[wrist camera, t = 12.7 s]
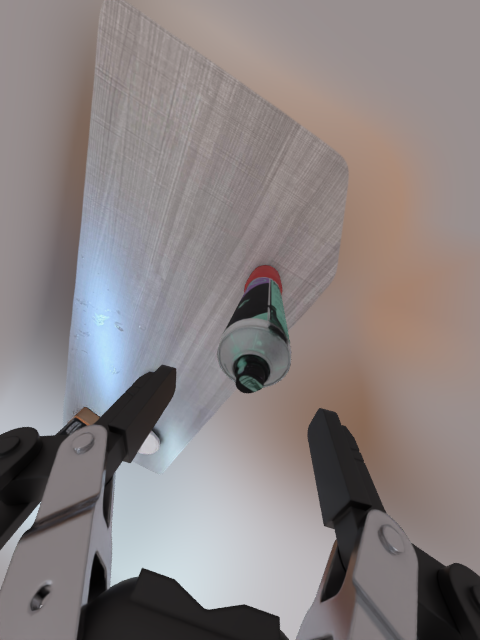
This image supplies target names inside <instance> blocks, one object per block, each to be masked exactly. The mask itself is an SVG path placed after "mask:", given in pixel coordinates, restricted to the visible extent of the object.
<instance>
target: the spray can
mask: <svg viewBox="0 0 480 640" xmlns="http://www.w3.org/2000/svg"><path fill="white" fill-rule="evenodd" d="M217 358H218V362H219V365H220V367H221V369H222V371H223V372H224V373H225V374H226V376H228V377H229V378H230V379H231V380H233V381H234V382H236V387H237V388H238V389H239V390H240V391H241V392H243V393H253V392H256V391H258V390H260V389H262V388H264V387H268V386H271V385H274V384H276V383H277V382H279V381H281V380H282V379H283V378H284V377H285V376H286V374H287V373H288V371H289V368H290V365H291V346H290V340H289V335H288V330H287V324H286V319H285V313H284V308H283V303H282V297H281V292H280V288H279V286H278V284H277V283H276V282H275V281H274V280H272V279H270V278H267V277H260V278H257V279H255V280H253V281H252V282H251V283H250V284H249V286H248V287H247V289H246V291H245V293H244V295H243V297H242V299H241V301H240V303H239V304H238V306H237V308H236V310H235V312H234V314H233V316H232V318H231V320H230V322H229V324H228V325H227V327H226V329H225V331H224V333H223V335H222V337H221V340H220V342H219V347H218V352H217Z"/></svg>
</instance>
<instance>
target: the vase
mask: <svg viewBox="0 0 480 640" xmlns="http://www.w3.org/2000/svg"><path fill="white" fill-rule="evenodd" d="M159 446H160V440H159V438H158V437H157V436H156V434H155V433H154V432H153V431H152V430H151V432H150V434H149V435H148V437H147V438H146V440H145V441H144V443H143V444H142V446H141V448H140V449H139V451H138V453H142V454H153V453H155V452H157V451H158V450H159Z"/></svg>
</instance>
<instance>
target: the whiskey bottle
mask: <svg viewBox="0 0 480 640" xmlns="http://www.w3.org/2000/svg"><path fill="white" fill-rule="evenodd" d="M99 418H100V417H98V416H97V415H96V414H94V413H93V412H92V411H90V410H89V409H88V408H85V407H84V408H83V409H82V410H81V411H80V412H78V413H77V414H76V415H75V416H74V417H73V418H72V419H71V420H70V421H69V422H68V423H67V425H66V426H65V427H64V428H62V429H61V430H60V431H59V432H58V433H57V434H56V435H68V434H72V433H73V432H75V431H76V430H78V429H80V428H82V427H85V426H88V425H92V424H94V423H95V422H96V421H97V420H98V419H99Z"/></svg>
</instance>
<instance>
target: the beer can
mask: <svg viewBox="0 0 480 640" xmlns="http://www.w3.org/2000/svg"><path fill="white" fill-rule="evenodd" d="M260 277H267V278H270V279H272V280H274V281H275V282H276V283H277V284H278V286H279V288H280V292H281V295H282V284H281V280H280V276H279V274H278V271H277V270H276V269H275V268H273V267H271V266H268V265H263V266H259V267H257V268H256V269H255V270H254V271H253V272H252V274H251V275H250V277H249V278H248V280H247V282H246V284H245V289H244V293H245V291H246V289H247V287H248V286H249V284H250V283H251V282H252V281H253V280H255V279H257V278H260Z"/></svg>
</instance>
